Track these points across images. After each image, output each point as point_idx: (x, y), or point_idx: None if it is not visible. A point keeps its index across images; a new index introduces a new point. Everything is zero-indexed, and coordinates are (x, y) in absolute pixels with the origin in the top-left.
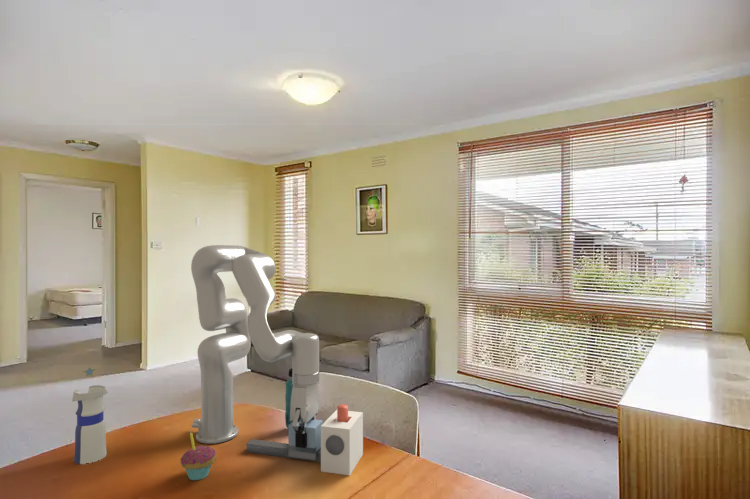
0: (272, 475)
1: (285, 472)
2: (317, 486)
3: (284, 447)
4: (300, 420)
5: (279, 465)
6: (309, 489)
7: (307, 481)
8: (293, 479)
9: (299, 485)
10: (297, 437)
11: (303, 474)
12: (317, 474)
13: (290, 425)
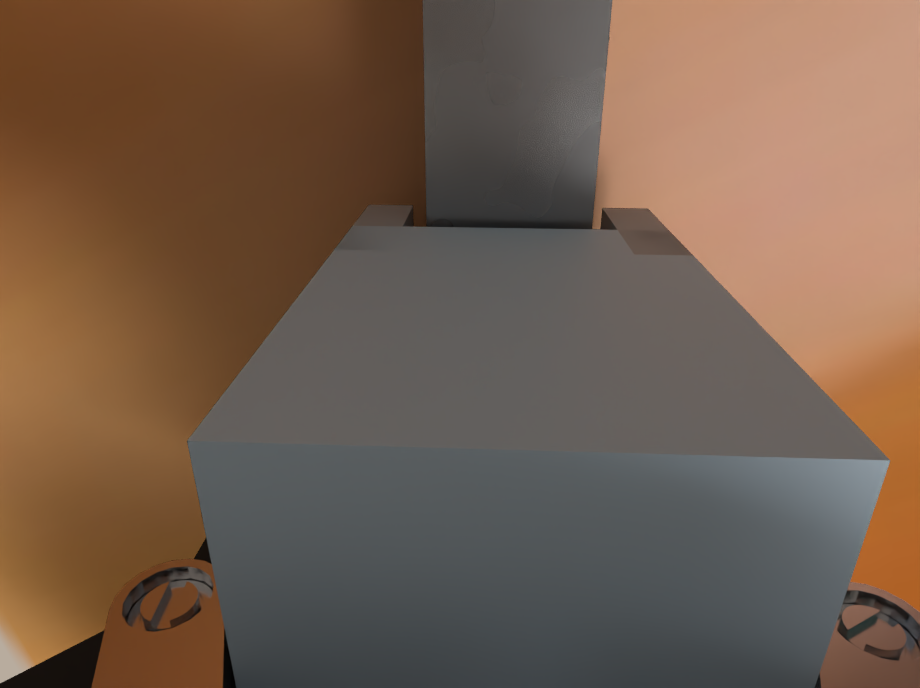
0: (3, 169)
1: (127, 281)
2: (72, 612)
3: (458, 95)
4: (641, 621)
5: (229, 138)
6: (4, 575)
7: (94, 527)
8: (58, 409)
9: (6, 491)
10: (205, 548)
11: (177, 459)
12: None
13: (204, 497)
